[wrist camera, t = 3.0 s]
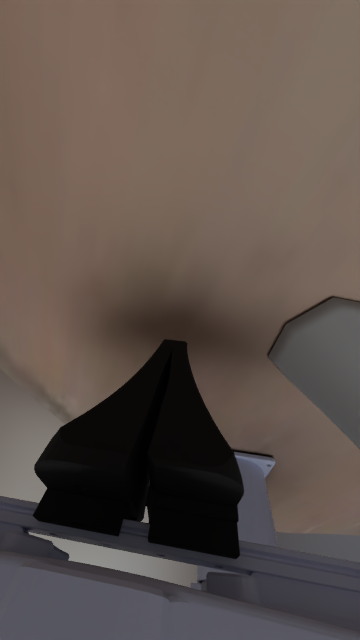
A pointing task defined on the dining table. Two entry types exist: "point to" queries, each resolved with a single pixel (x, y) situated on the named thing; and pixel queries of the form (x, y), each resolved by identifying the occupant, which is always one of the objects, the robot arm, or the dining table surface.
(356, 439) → the flask
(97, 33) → the dining table surface
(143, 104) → the dining table surface
